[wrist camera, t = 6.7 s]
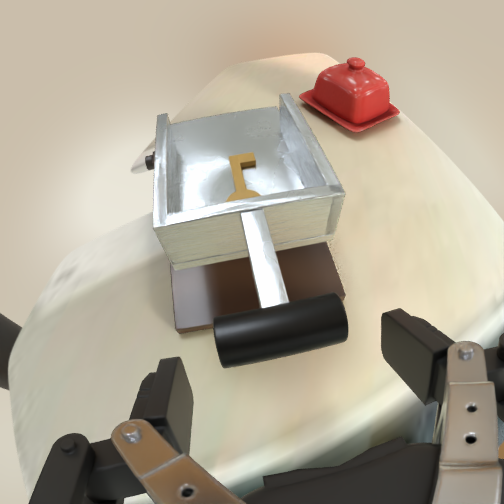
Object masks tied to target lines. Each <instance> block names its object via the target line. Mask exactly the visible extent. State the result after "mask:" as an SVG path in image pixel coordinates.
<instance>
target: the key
mask: <svg viewBox="0 0 504 504" xmlns="http://www.w3.org/2000/svg"><path fill="white" fill-rule="evenodd" d="M229 163H230V167H231V172H232V176H233V181H234V185H235V190H236V192H234V193H232V194H231V195H230V196H229V197H228V199H227V201H226V202H229V201H234V200H240V199H245V198H251V197H256V196H261V195H260V194H259V193H257V192H256V191H253V190H249V189H247V188H246V185H245V181H244V177H243V173H242V169H241V168H242V167H248V166H253V165H256V159H255V156H254V153H253V152H251V153H245V154H239V155H233V156H229Z"/></svg>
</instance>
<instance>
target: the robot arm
mask: <svg viewBox="0 0 504 504" xmlns="http://www.w3.org/2000/svg"><path fill="white" fill-rule="evenodd" d="M381 350H382V354H383V357H384V359H385V360H386V362H387V363H388V364H389V365H390V366H391V367H392V368H393V369H394V371H395V372H396V373H397V374H398V375H399V376H400V377H401V378H402V380H403V381H404V382H405V383H406V384H407V385H408V386H409V387H410V389H411V390H412V391H413V392H414V393H415V394H416V395H417V397H418V398H419V399H420V400H421V401H422V402H423V403H424V405H425V406H426V405H428V404H430V403H432V402H434V401H437V402H438V407H437V413H436V420H435V427H434V433H433V439H432V443H412V444H407V443H406V442H405V440H404V439H403V438H402V436H401V437H398V438H396V439H393V440H391V441H388V442H386V443H383V444H380V445H378V446H375V447H372V448H370V449H368V450H367V451H365V452H363V453H362V454H360V455H358V456H356V457H355V458H353V459H351V460H349V461H347V462H346V463H344V464H342V465H339V466H335V467H324V468H310V469H297V470H293V471H288V472H284V473H279V474H274V475H268V476H263V480H264V486H263V487H260V488H258V489H256V490H254V491H252V492H250V493H248V494H247V495H245V496H243V497H242V498H241V499H240V498H239V497H237V496H236V495H235V494H234V493H232V492H231V491H230V490H228V489H227V488H226V487H225V486H223V485H222V484H221V483H220V482H219V481H217V480H216V479H215V478H214V477H213V476H211V475H210V474H209V473H208V472H207V471H206V470H204V469H203V468H202V467H201V466H200V465H199V464H198V463H197V462H195V461H194V460H193V459H192V458H191V457H190V456H189V451H190V438H191V426H192V415H193V404H194V402H193V394H192V390H191V386H190V384H189V381H188V378H187V375H186V372H185V369H184V366H183V363H182V360H181V358H180V357H173V358H166V359H161V360H160V362H159V365H158V368H157V372H154V373H149V374H148V375H147V377H146V378H145V379H144V380H143V381H142V383H141V386H140V389H139V390H140V391H139V392H138V395H137V398H136V400H135V403H134V406H133V409H132V412H131V415H130V418H129V420H128V421H125V422H123V423H121V424H120V425H118V426H117V427H116V428H115V429H114V430H113V432H112V434H111V438H110V439H107V440H103V441H99V442H95V443H89V441H88V440H87V438H86V437H85V436H83V435H82V434H78V433H72V434H67V435H65V436H62V437H61V438H59V439H58V440H57V441H56V442H55V443H54V444H53V446H52V448H51V451H50V453H49V455H48V457H47V460H46V462H45V464H44V467H43V469H42V471H41V474H40V476H39V479H38V481H37V484H36V486H35V489H34V491H33V494H32V496H31V499H30V501H29V504H123V503H124V498H126V497H131V496H135V495H139V494H143V493H147V494H148V495H149V497H150V498H151V499H152V500H153V502H154V503H155V504H504V459H499V458H498V424H497V416H498V417H499V418H500V419H501V420H502V421H503V422H504V333H503V334H502V335H501V336H500V338H499V343H498V346H497V347H493V348H489V349H484V350H483V348H482V347H481V346H480V345H479V344H477V343H474V342H470V341H461V342H454V341H453V340H452V339H450V338H449V337H447V336H446V335H445V334H443V333H442V332H441V331H439V330H437V328H435V327H434V326H431V324H430V323H428V322H427V321H425V320H424V319H421V318H418V317H415V316H410V315H409V314H408V313H406V312H405V311H404V310H402V309H401V308H398V309H395V310H392V311H388V312H385V313H383V314H382V317H381Z"/></svg>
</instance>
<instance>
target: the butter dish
mask: <svg viewBox="0 0 504 504" xmlns="http://www.w3.org/2000/svg"><path fill="white" fill-rule="evenodd" d="M364 66H365V62H364V61H363V60H362V59H360V58H356V57H353V58H349V59H348V60H347V63H344V64H338V65H335V66H332V67H329V68H327V69H325V70H324V71H322V72H321V73H320V74H319V76H318V78H317V81H316V83H315V87H314V89H312V90H309V91H307V92H304V93H302V94H301V95H300V96H299V98H300V99H301V100H303V101H304V102H306V103H307V104H309V105H311V106H312V107H314V108H315V109H317V110H319V111H320V112H321V113H323V114H324V115H326V116H328V117H329V118H331V119H332V120H334V121H335V122H337V123H338V124H340V125H341V126H343V127H344V128H346V129H348V130H350V131H352V132H360V131H363V130H365V129H367V128H369V127H372V126H374V125H376V124H378V123H380V122H382V121H385V120H387V119H389V118H392V117H394V116H396V115H398V114H399V113H400V111H399V110H398V109H397V108H396V107H395V106H393V105H392V104H391V103H389V101H390V100H389V99H390V98H389V85H388V83H387V82H386V81H385V79H383V78H382V77H381V76H380V75H378V74H377V73H375V72H374V71H372V70H370V69H368V68H366V67H364Z"/></svg>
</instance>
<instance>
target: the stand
mask: <svg viewBox="0 0 504 504" xmlns="http://www.w3.org/2000/svg"><path fill="white" fill-rule="evenodd" d="M154 161H155V151H154V152H153V155H150V156H146V158H145V162H146V166H147V169H148V170H152V169H154ZM275 252H276V255H277V259H278V263H279V266H280V270H281V274H282V277H283V281H284V285H285V288H286V292H287V296H288V299H289V302H291V301H296V300H301V299H305V298H310V297H314V296H318V295H323V294H327V293H331V292H335V293H337V294H338V295H339V297H340V299H341V301H342V300H344V298H345V296H346V295H345V292H344V289H343V286H342V284H341V281H340V278H339V275H338V272H337V270H336V267H335V264H334V261H333V259H332V256H331V253H330V251H329V248H328V245H327V243H326V242H321V243H316V244H311V245H306V246H301V247H295V248H290V249H285V250H280V251H275ZM170 268H171V283H172V295H173V307H174V318H175V328H176V331H177V332H178V333H179V334H180V333H186V332H192V331H198V330H204V329H209V328H213V318H214V317H216V316H222V315H227V314H232V313H238V312H243V311H248V310H253V309H258V308H260V307H259V302H258V298H257V293H256V289H255V284H254V280H253V275H252V271H251V266H250V262H249V257H244V258H239V259H234V260H228V261H223V262H218V263H213V264H208V265H202V266H197V267H192V268H187V269H182V270H174V268H173V266H172V264H171V262H170Z"/></svg>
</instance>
